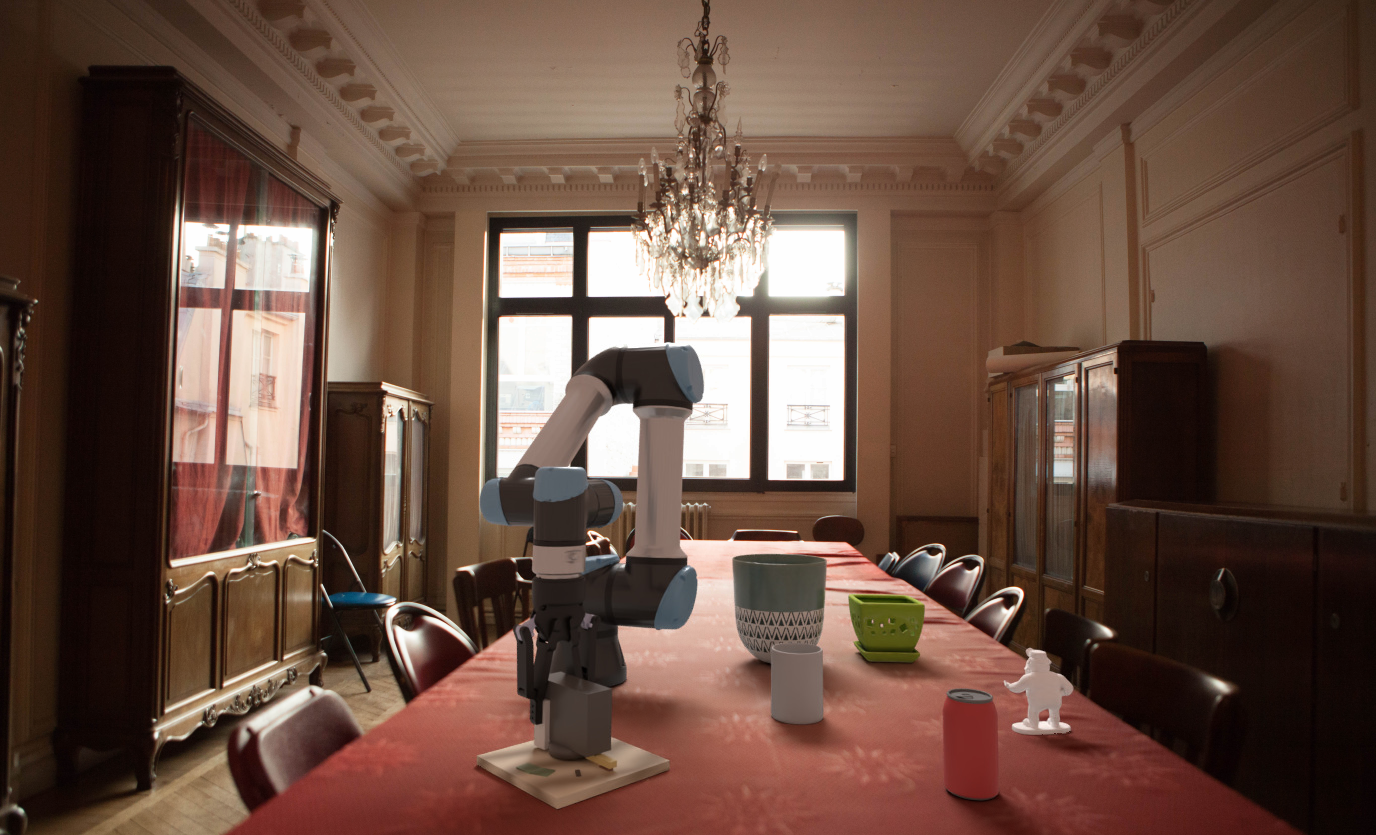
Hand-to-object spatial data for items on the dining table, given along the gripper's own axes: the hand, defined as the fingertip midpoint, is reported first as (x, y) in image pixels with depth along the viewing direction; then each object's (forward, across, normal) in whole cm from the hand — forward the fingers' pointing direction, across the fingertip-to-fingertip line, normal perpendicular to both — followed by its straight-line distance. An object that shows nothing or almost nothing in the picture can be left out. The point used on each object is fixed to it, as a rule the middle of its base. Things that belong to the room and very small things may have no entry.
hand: (555, 742), depth 110 cm
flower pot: (+2, +85, +2) cm, 85 cm away
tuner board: (+2, -1, -6) cm, 6 cm away
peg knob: (0, 0, -6) cm, 6 cm away
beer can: (+2, +32, -46) cm, 56 cm away
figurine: (+2, +63, -41) cm, 75 cm away
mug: (+2, +40, -10) cm, 42 cm away
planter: (+2, +65, +14) cm, 66 cm away
